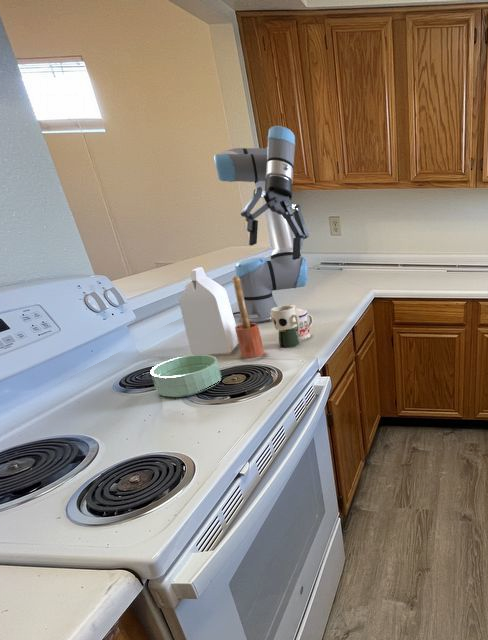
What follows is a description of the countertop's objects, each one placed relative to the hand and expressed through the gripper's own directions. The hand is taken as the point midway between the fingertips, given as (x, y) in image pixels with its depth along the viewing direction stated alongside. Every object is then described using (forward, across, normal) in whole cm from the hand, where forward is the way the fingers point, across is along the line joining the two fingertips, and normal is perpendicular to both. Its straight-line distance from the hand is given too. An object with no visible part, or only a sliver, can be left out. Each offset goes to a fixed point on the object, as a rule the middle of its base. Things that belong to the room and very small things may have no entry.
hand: (275, 251), depth 121 cm
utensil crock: (+30, +2, +14) cm, 33 cm away
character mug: (+26, +14, +12) cm, 31 cm away
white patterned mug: (+21, +21, +16) cm, 34 cm away
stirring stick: (+29, +2, +13) cm, 32 cm away
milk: (+27, -1, +30) cm, 40 cm away
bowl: (+40, -17, +9) cm, 44 cm away
